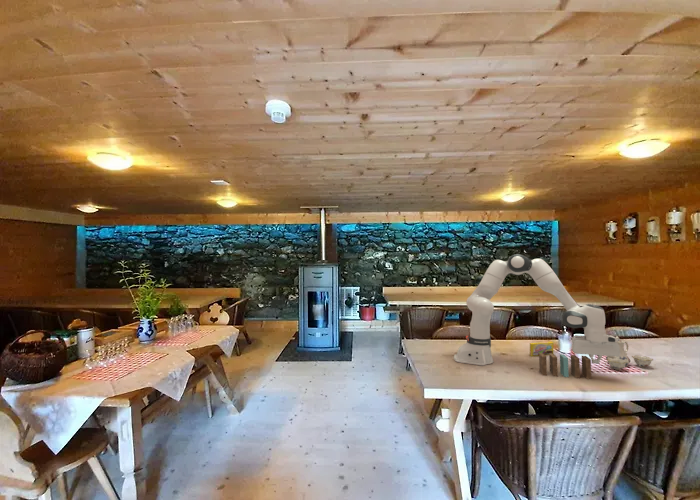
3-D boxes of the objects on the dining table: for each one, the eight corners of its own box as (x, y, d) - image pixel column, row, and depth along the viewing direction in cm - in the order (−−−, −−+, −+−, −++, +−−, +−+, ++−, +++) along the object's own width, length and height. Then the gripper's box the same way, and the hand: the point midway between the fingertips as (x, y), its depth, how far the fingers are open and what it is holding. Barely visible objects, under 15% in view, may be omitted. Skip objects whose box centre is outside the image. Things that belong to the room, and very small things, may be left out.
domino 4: (586, 378, 163) (586, 359, 163) (582, 374, 169) (581, 355, 169) (591, 379, 162) (590, 359, 163) (586, 375, 168) (585, 355, 168)
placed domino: (564, 376, 166) (563, 357, 166) (560, 372, 172) (559, 354, 172) (568, 377, 165) (568, 357, 166) (564, 373, 171) (563, 354, 171)
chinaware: (620, 377, 169) (623, 346, 168) (589, 363, 185) (591, 335, 184) (657, 370, 177) (659, 341, 176) (624, 358, 193) (626, 331, 192)
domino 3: (575, 377, 164) (574, 358, 165) (571, 373, 170) (570, 355, 170) (580, 378, 164) (579, 358, 164) (575, 374, 170) (574, 355, 170)
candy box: (531, 357, 199) (531, 343, 199) (529, 356, 201) (528, 342, 201) (554, 355, 202) (553, 342, 202) (551, 354, 204) (550, 341, 204)
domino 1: (542, 375, 169) (542, 356, 169) (539, 371, 175) (538, 352, 175) (546, 375, 168) (546, 356, 168) (543, 371, 174) (543, 353, 174)
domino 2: (553, 376, 167) (552, 357, 168) (549, 372, 173) (549, 353, 173) (557, 376, 167) (557, 357, 167) (554, 372, 173) (553, 353, 173)
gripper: (573, 336, 165) (574, 363, 165) (621, 339, 159) (622, 367, 159) (569, 333, 171) (570, 359, 171) (615, 336, 165) (615, 363, 165)
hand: (595, 363), depth 165 cm, fingers closed
